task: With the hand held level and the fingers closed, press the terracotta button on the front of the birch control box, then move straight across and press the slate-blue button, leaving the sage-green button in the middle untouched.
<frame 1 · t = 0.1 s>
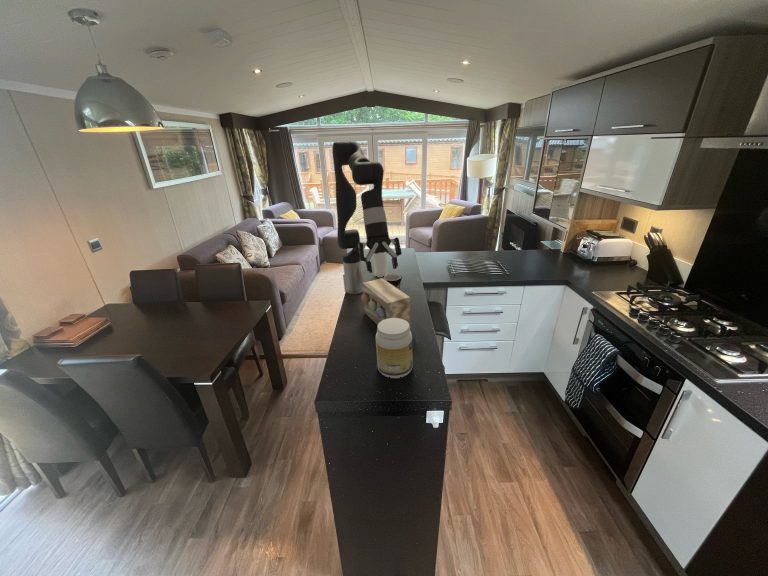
hand: (382, 270, 105), 31 cm above the countertop, tool tilted 20°, fingers open, 8 cm apart
bottle: (381, 275, 187), on the countertop
coffee mug: (395, 294, 161), on the countertop
button slate: (380, 313, 124), point 9 cm above the countertop, slide at 0.0 cm
button sage: (372, 305, 131), point 9 cm above the countertop, slide at 0.0 cm
button terracotta: (365, 299, 137), point 9 cm above the countertop, slide at 0.0 cm
control box: (386, 320, 137), on the countertop
supplement tub: (395, 368, 107), on the countertop
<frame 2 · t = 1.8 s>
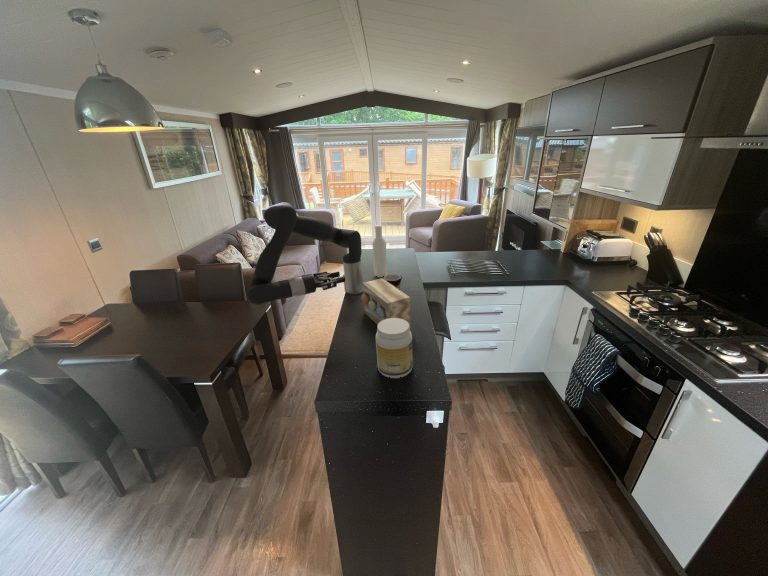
hand: (342, 276, 128), 22 cm above the countertop, tool horizontal, fingers open, 6 cm apart
nothing on the countertop moved.
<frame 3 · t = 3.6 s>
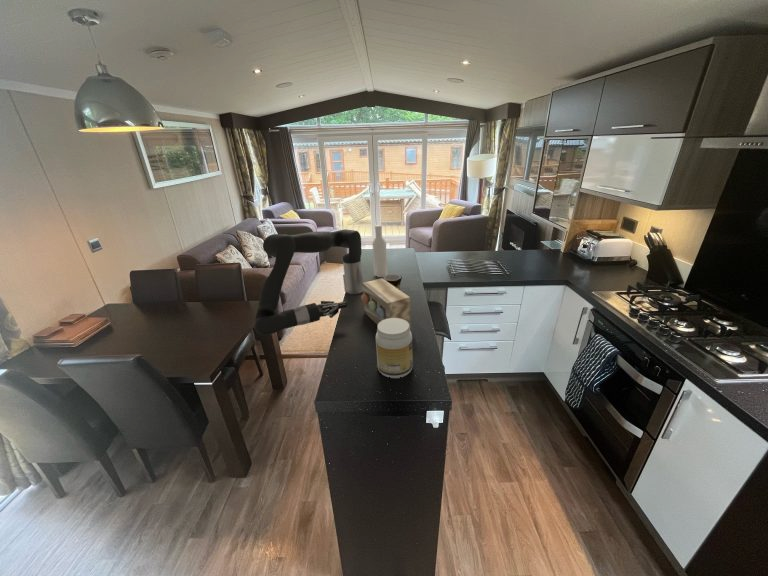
hand: (346, 304, 133), 9 cm above the countertop, tool horizontal, fingers closed
nothing on the countertop moved.
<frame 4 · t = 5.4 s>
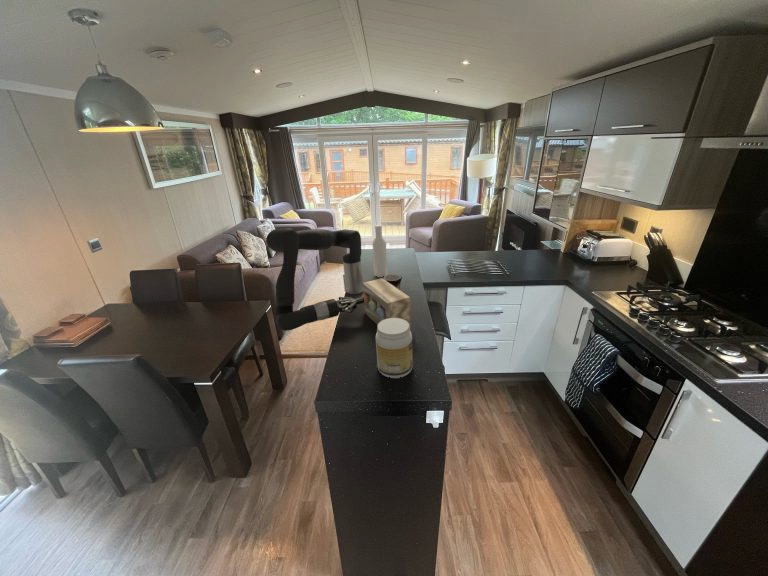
hand: (363, 299, 136), 9 cm above the countertop, tool horizontal, fingers closed
button terracotta: (365, 299, 137), point 9 cm above the countertop, slide at 0.1 cm, touching gripper
everything else where it was.
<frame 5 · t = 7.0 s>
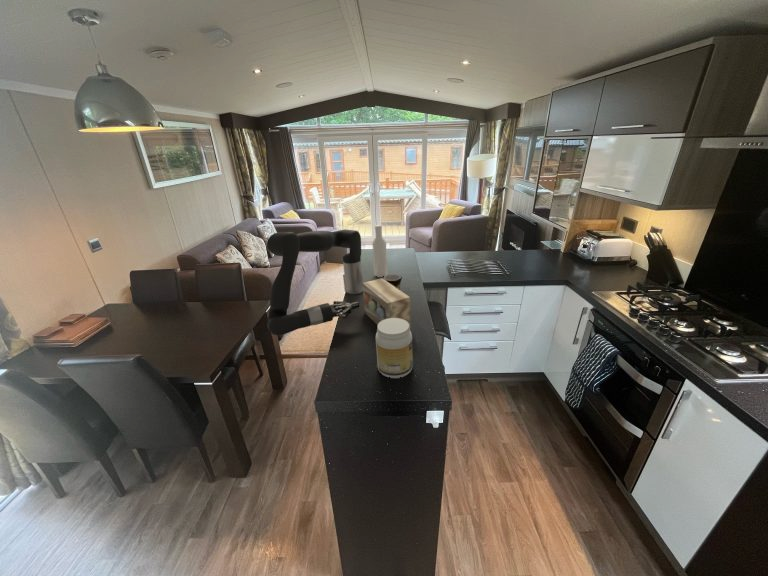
hand: (358, 304, 132), 9 cm above the countertop, tool horizontal, fingers closed
button terracotta: (367, 298, 137), point 9 cm above the countertop, slide at 1.1 cm
everything else where it was.
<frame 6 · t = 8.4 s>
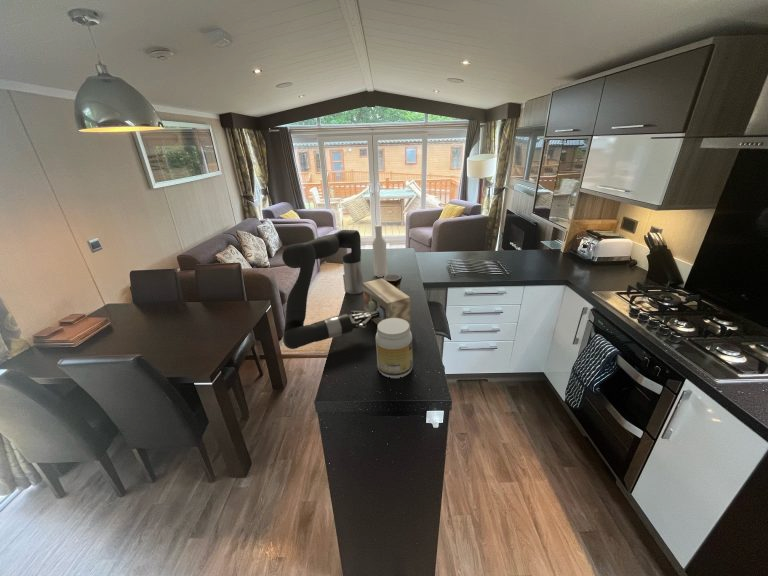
hand: (378, 313, 124), 9 cm above the countertop, tool horizontal, fingers closed
button slate: (380, 313, 124), point 9 cm above the countertop, slide at 0.0 cm, touching gripper
everything else where it was.
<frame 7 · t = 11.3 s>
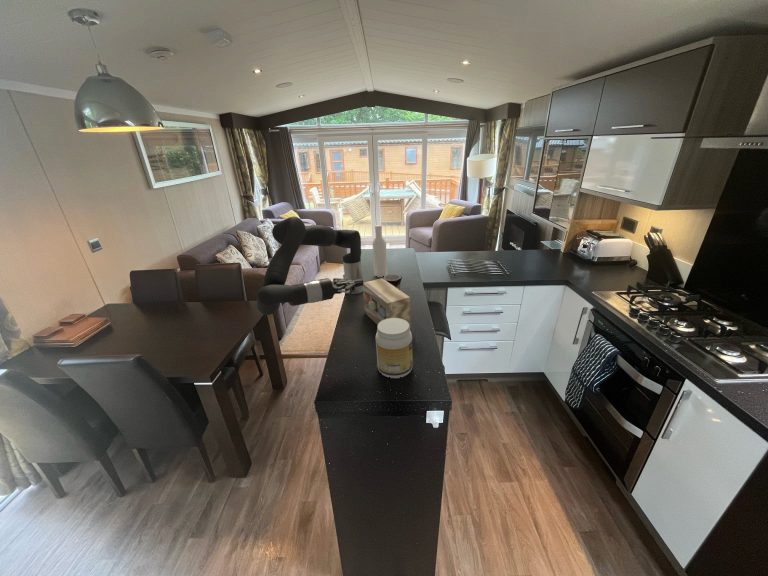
hand: (362, 282, 116), 24 cm above the countertop, tool horizontal, fingers closed
button slate: (383, 312, 125), point 9 cm above the countertop, slide at 1.1 cm
everything else where it was.
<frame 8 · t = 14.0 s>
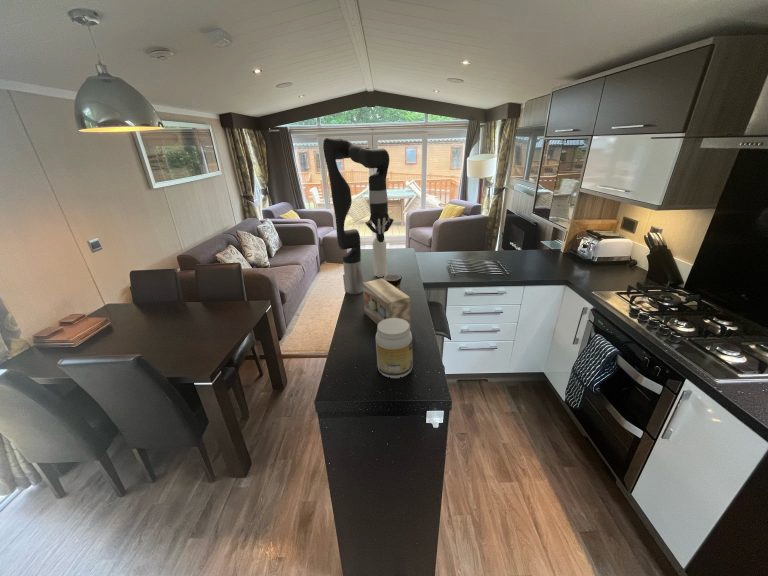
hand: (380, 241, 136), 32 cm above the countertop, tool pointing down, fingers closed
nothing on the countertop moved.
at the end: button terracotta slide at 1.1 cm; button slate slide at 1.1 cm; button sage slide at 0.0 cm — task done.
